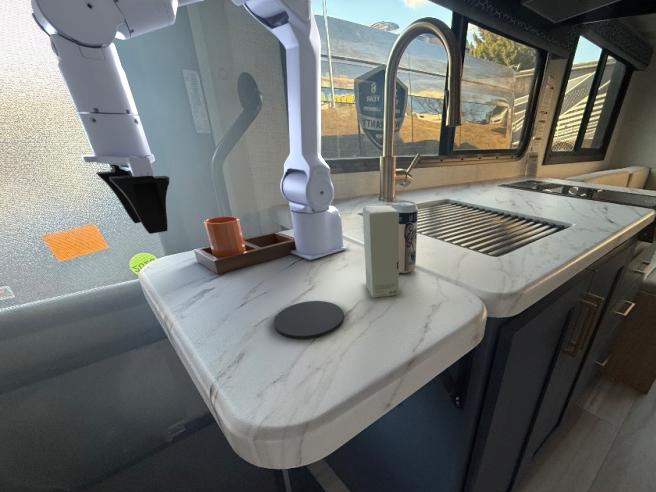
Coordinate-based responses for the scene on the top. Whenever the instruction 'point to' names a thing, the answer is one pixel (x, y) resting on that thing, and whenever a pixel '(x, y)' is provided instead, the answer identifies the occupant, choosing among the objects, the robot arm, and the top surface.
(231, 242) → the cup
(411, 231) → the beer can
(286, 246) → the cup holder
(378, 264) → the box
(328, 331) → the coaster
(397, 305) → the top surface
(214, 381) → the top surface
